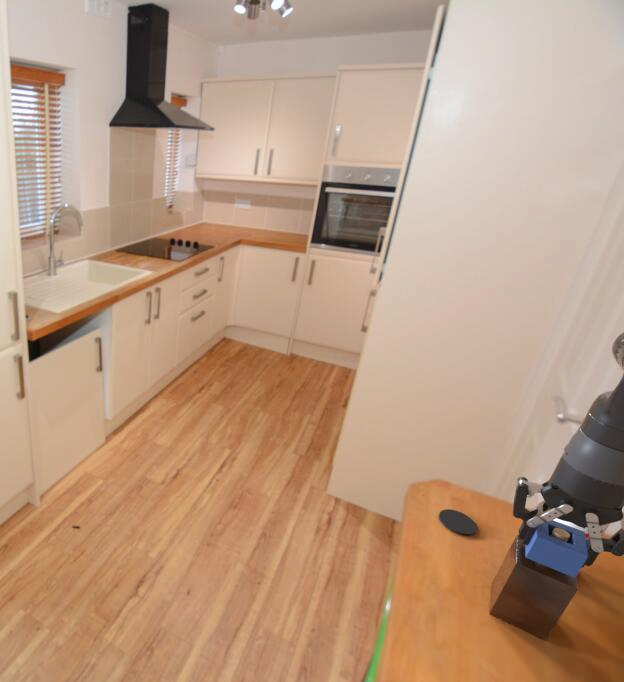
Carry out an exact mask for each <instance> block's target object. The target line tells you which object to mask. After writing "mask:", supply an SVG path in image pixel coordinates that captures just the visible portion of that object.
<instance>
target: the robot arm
mask: <svg viewBox="0 0 624 682" xmlns="http://www.w3.org/2000/svg"><path fill="white" fill-rule="evenodd" d="M611 354H612V356H613V359H614V360H615V362H616V363H617V364H618V365H619V367H620V369H621V370H622V371H623V373H622V376H621V379H620V380H619V382H618V384H617V385H616V386H615V388H614V389H613V390H609V391H604V392H602V393H600V394H599V395H598V396H597V397H596V398H595V399H594V400H593V402H592V403H591V404H590V407H589V408H588V410H587V412H586V414H585V416H584V418H583V420H582V422H581V424H580V425H579V426H578V429H577V430H576V431H575V432H574V433H573V434H572V436H571V437H570V439H569V441H568V443H567V444H566V445H565V447H564V448H563V450H564V451H563V453H562V454H561V457H560V459H559V461H558V463H557V464H556V467H555V468H554V470H553V472H552V474H551V476H550V478H549V479H548V480H547V481H545V482H543V483H542V484H541V483H536V482H531V481H529V479H528V478H526V477H524V476H519V477H518V478H517V482H516V485H515V492H514V498H513V505H512V516H513V517H514V518H516V519H520V520H522V523H521V525H520V527H519V529H518V535H519V539H521V540H522V544H525V545H527V546H528V544H529V543H530V541H531V539H532V537H533V535H534V533H535V531H536V530H537V526H539V525H541V524H543V523H544V522H547V523H548V522H550V521H552V520H554V519H556V518H557V519H560V520H563V521H567V522H571V523H573V524H575V525H577V526H579V527H582V528H584V529H585V528H586V527H587V528H588V533H589V540H587V539H586V544H587V550H588V558H587V560H586V561H585V563H584V565H583V566H582V569H583V568H585V566H586V567H590V566H593V564H594V563H595V561H596V560H597V557H598V556H599V554H600V553H603V552H604V553H606V552H607V553H611V554H612V555H613V556H616V557H622V556H624V512H623V508H624V331H623V332H621V333H620V334H619V335H618V336H617V337H616V338H615V339H614V341H613V342H612V345H611ZM536 494H541V497H542V499H543V500H542V501H541V502H539V503H538V504H537V506H535V507H534V508H531V509H528V508H526V505H527V499H528V498H529V499H531V498H533V497H534V496H535V495H536ZM618 522H620V528H619V529H618V530H617V531H616V532H614V534H613V535H612V536H610V538H606V537H601V532H600V526H602V525H606V524H610V525H611V524H613V523H618Z"/></svg>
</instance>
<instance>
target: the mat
mask: <svg viewBox="0 0 624 682" xmlns="http://www.w3.org/2000/svg"><path fill="white" fill-rule="evenodd" d="M438 519H439V522H440V524H442V525H443V526H444V527H445V528H446V529H448V530H449V531H451V532H452V533H455V534H458V535H460V536H465V537H471V536H474V535H477V532H478V530H479V528H478V525H477V523H476V522H475V521H474V520H473V519H472V518H471V517H470V516H468V515H467V514H465V513H463V512H461V511H458V510H456V509H443V510H441V511H440V512H439V514H438Z"/></svg>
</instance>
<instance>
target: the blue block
mask: <svg viewBox="0 0 624 682" xmlns="http://www.w3.org/2000/svg"><path fill="white" fill-rule="evenodd" d="M554 528H561V529H563V530H565V531H567V532H568V533H569V534H570V537H569V539H568V541H567V542H565V541H562V540H559V539H557V538H554V537H552V536H550V535H551V533H552V531H553V530H554ZM525 551H526V558H528V559H530V560H533V561H535V562H537V563H540V564H542V565H545V566H547V567H549V568H552V569H554V570H557V571H559V572H562V573H564V574H566V575H569V576H571V577H574V578H575V577H576V576H577V577H578V575H579V574H580V572H581V571H580V569H581V568H582V566H583V565H584V563H585V561H586V560H587V558H588V550H587V544H586V536H585V532H584V531H581V530H578V529H575V528H573V527H570V526H567V525H565V524H562V523H559V522H556V521H554V520H552V521H550V522H548V523H547V522H544V523H543V524H541V525H539V526H537V530H536V531H535V533H534V535H533V537H532V539H531V541H530V543H529V544H528V546H527V545H525ZM582 569H583V568H582ZM582 569H581V570H582ZM579 571H580V572H579ZM578 573H579V574H578ZM577 574H578V575H577Z"/></svg>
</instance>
